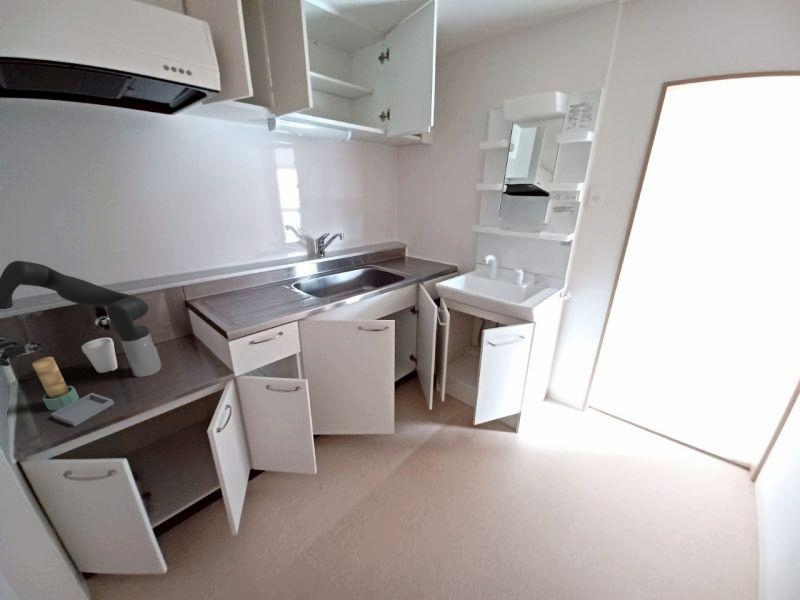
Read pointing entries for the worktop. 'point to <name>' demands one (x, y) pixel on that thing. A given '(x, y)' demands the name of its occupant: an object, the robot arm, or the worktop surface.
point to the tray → (82, 409)
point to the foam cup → (101, 354)
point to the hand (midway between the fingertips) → (24, 357)
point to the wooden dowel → (50, 377)
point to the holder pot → (61, 399)
